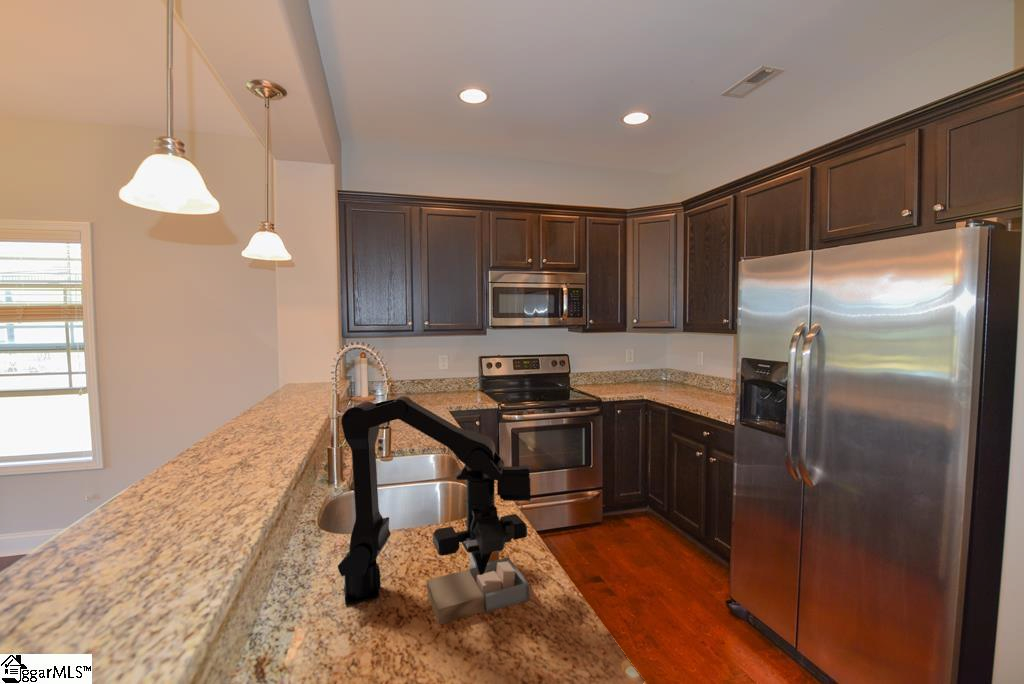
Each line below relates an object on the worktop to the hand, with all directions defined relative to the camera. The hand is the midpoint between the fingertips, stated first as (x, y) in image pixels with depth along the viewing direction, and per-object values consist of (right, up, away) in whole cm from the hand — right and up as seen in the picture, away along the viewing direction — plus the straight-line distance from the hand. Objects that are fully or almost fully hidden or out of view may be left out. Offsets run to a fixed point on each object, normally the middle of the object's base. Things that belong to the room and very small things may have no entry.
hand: (481, 573), depth 89 cm
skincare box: (0, -4, +11) cm, 12 cm away
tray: (+3, -4, +2) cm, 6 cm away
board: (-5, -5, -2) cm, 7 cm away
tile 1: (+2, -4, +1) cm, 4 cm away
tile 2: (+4, -2, +1) cm, 4 cm away
